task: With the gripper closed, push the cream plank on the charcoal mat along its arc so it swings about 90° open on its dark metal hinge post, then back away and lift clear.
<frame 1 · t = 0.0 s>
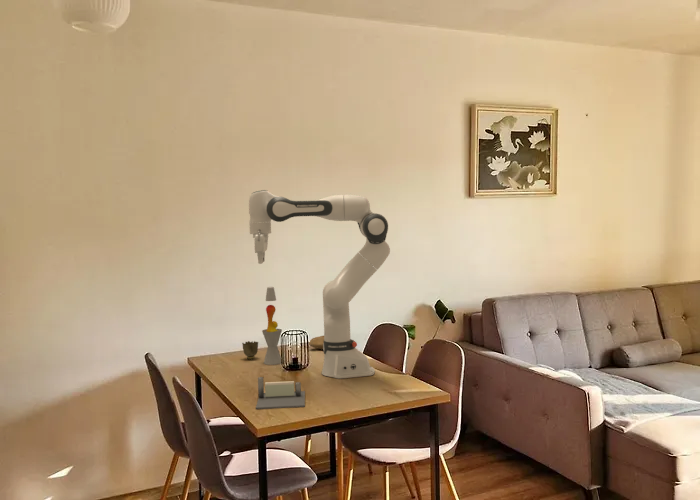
hand: (261, 262, 259), 48 cm above the table, fingers open, 8 cm apart
cup: (250, 359, 295), on the table
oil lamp: (323, 349, 313), on the table
lava lamp: (273, 362, 287), on the table
gate posts: (281, 398, 229), resting on yard mat
cream plank: (279, 388, 229), point 3 cm above the table, hinge at 0.0°
yard mat: (281, 400, 226), on the table
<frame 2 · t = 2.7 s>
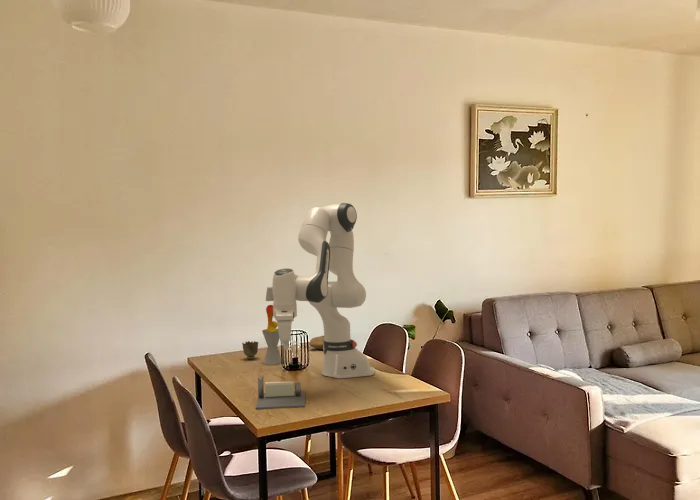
hand: (286, 348, 235), 17 cm above the table, fingers closed
nothing on the table moved.
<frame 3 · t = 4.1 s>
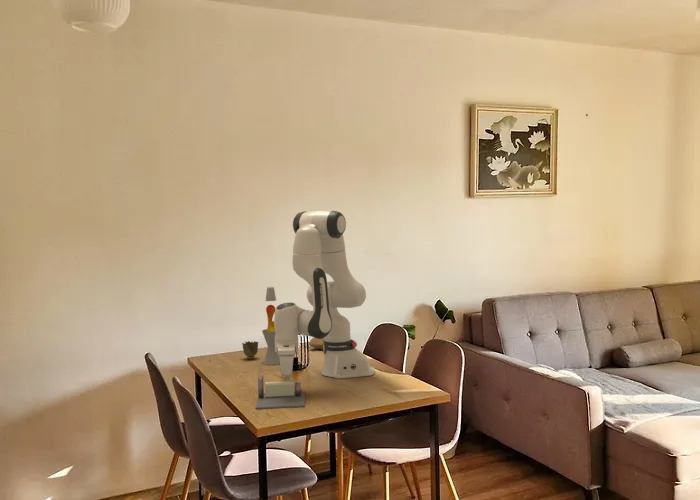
hand: (287, 382, 234), 4 cm above the table, fingers closed
nothing on the table moved.
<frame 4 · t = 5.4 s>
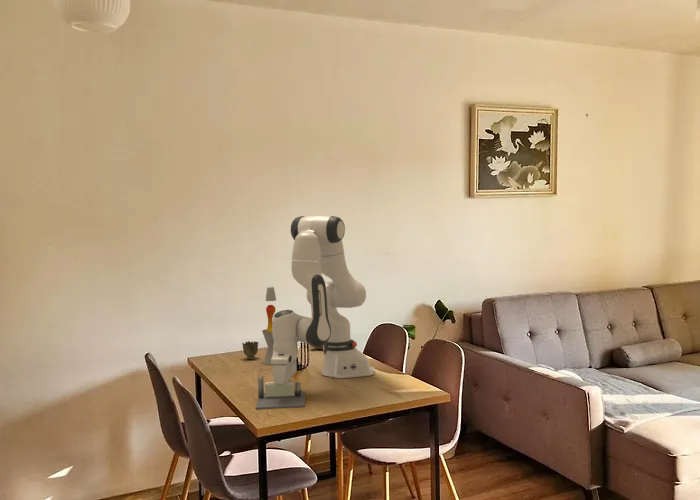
hand: (286, 390, 232), 2 cm above the table, fingers closed
cream plank: (279, 389, 229), point 3 cm above the table, hinge at 2.8°, touching gripper
everything else where it was.
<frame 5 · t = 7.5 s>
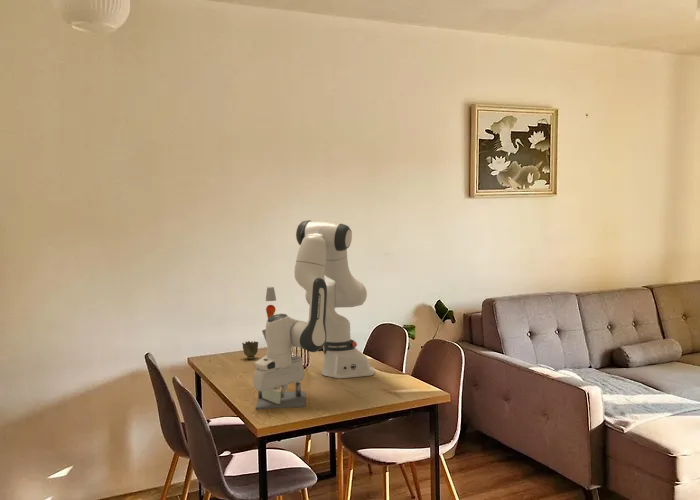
hand: (280, 397, 224), 2 cm above the table, fingers closed
cream plank: (270, 393, 223), point 3 cm above the table, hinge at 55.5°, touching gripper
everything else where it was.
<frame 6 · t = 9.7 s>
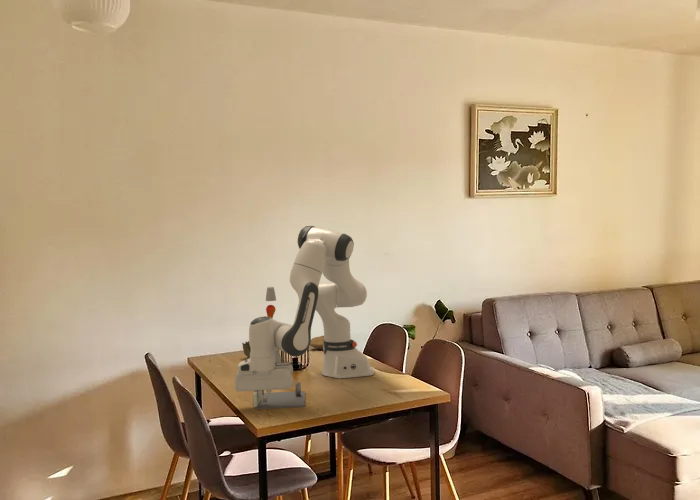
hand: (265, 401, 220), 2 cm above the table, fingers closed
cream plank: (257, 395, 222), point 3 cm above the table, hinge at 95.6°, touching gripper
everything else where it was.
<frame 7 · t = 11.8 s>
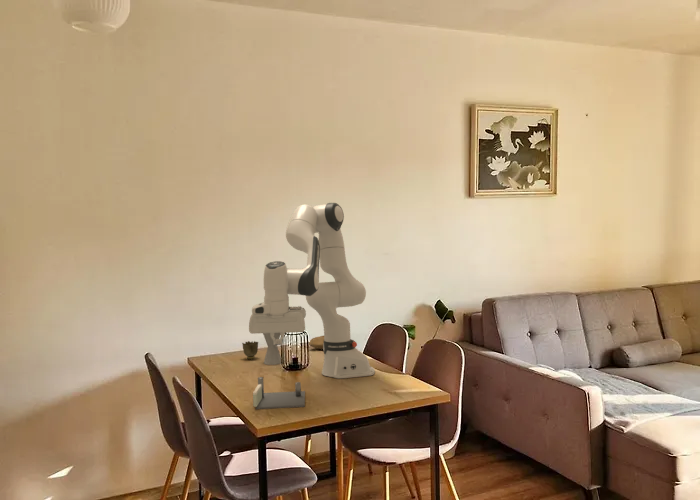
hand: (277, 344, 225), 21 cm above the table, fingers closed
cream plank: (257, 395, 222), point 3 cm above the table, hinge at 95.6°
everything else where it was.
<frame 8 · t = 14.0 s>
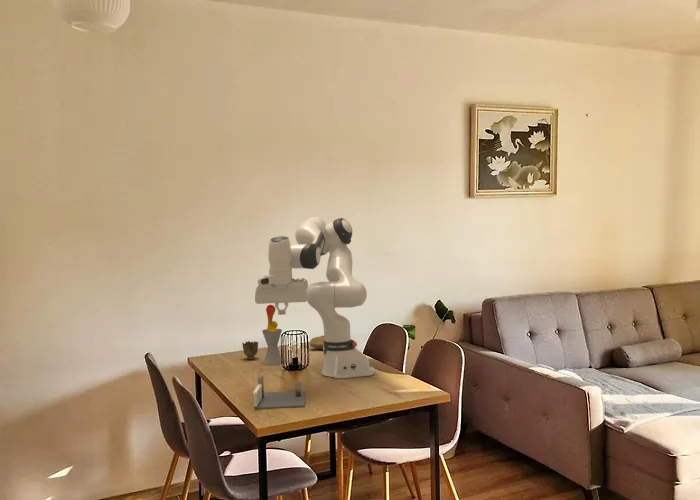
hand: (281, 314, 241), 29 cm above the table, fingers closed
nothing on the table moved.
at the end: cream plank at +96° (first picture: +0°) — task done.
